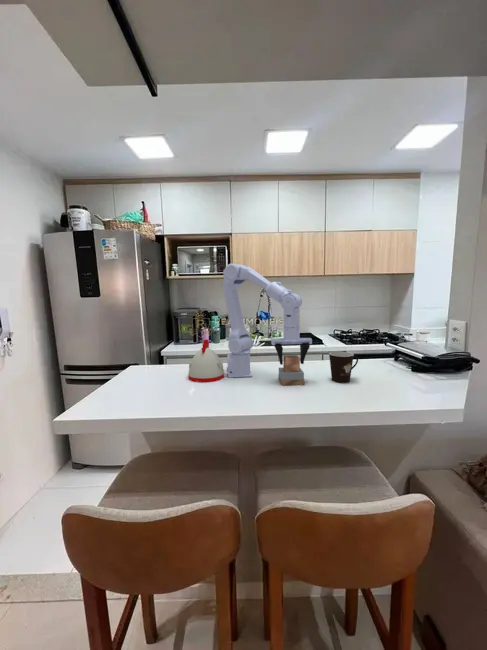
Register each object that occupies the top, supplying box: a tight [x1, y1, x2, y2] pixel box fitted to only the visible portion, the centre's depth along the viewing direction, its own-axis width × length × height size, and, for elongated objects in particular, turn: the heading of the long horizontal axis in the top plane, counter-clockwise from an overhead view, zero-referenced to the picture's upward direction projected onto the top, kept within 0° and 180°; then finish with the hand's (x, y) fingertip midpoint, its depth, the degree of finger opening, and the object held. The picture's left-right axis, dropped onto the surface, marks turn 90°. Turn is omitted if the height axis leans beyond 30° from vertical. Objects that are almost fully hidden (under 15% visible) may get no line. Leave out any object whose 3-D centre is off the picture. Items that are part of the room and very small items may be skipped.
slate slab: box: [278, 367, 305, 380], centre depth 113 cm, size 8×8×2 cm
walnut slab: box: [278, 375, 306, 387], centre depth 113 cm, size 8×8×2 cm
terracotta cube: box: [282, 354, 301, 372], centre depth 112 cm, size 5×5×5 cm
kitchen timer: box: [187, 339, 225, 383], centre depth 120 cm, size 14×14×15 cm
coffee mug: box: [328, 351, 359, 384], centre depth 113 cm, size 12×9×10 cm
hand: (291, 363), depth 112 cm, fingers open, 7 cm apart
